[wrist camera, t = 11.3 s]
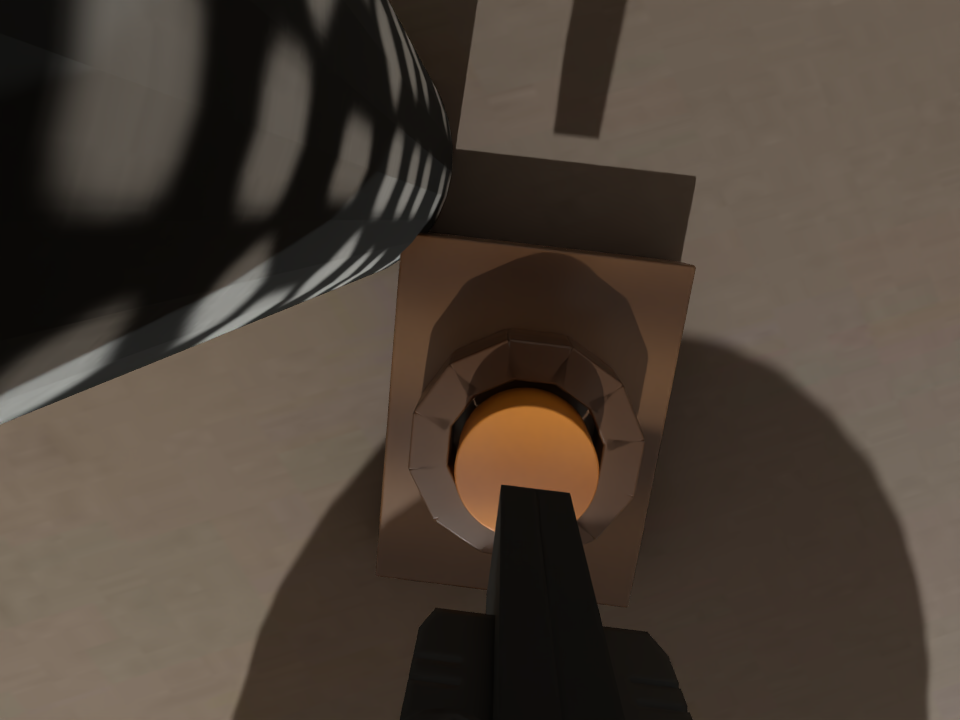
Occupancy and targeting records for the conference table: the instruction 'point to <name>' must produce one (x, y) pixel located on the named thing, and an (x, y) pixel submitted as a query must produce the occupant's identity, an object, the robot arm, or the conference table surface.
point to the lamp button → (524, 451)
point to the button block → (532, 364)
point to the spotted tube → (197, 173)
